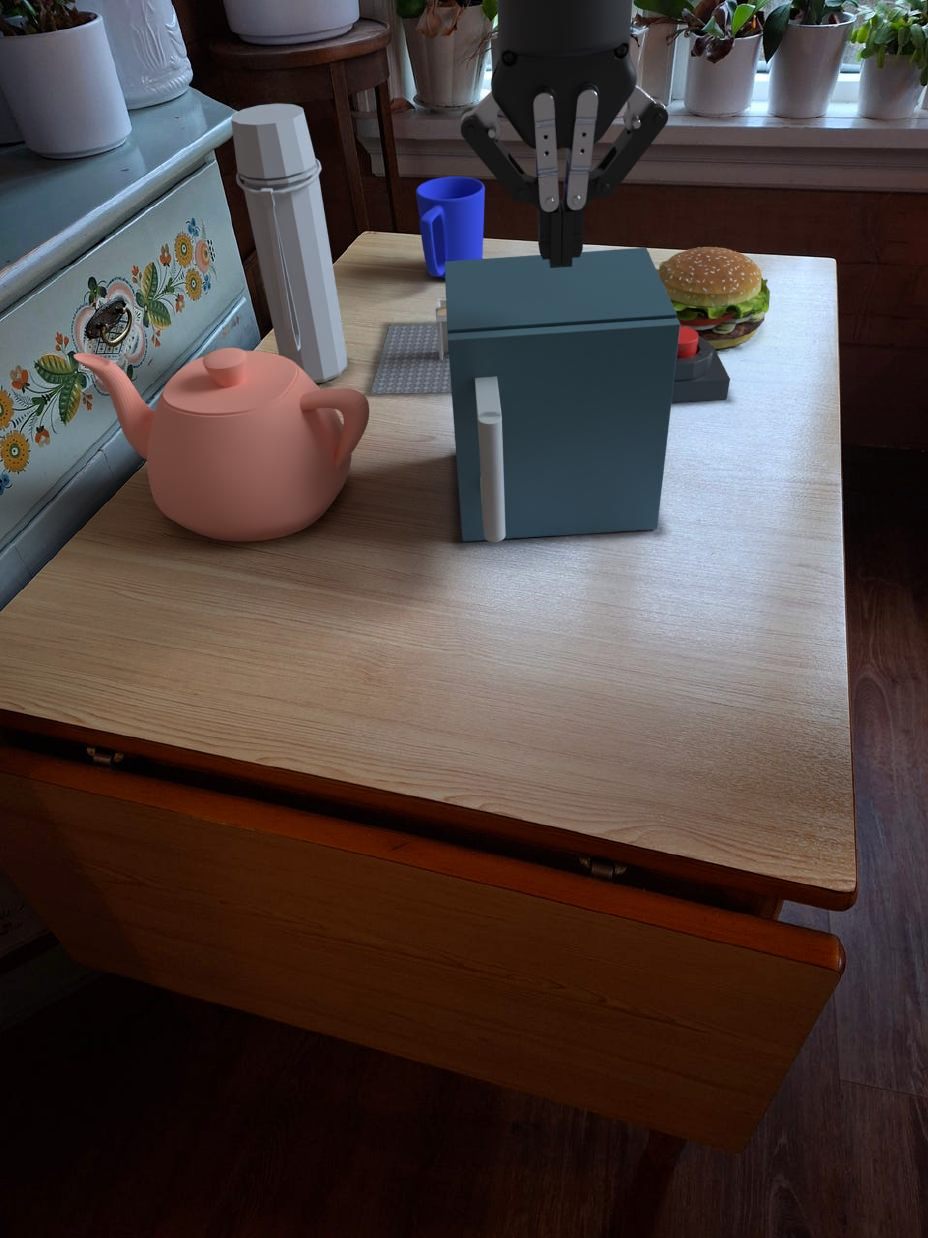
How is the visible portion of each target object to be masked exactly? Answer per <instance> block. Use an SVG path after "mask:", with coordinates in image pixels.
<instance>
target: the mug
mask: <svg viewBox="0 0 928 1238" xmlns="http://www.w3.org/2000/svg"><path fill="white" fill-rule="evenodd" d="M485 187H486V186H485V184H484V183H483V182H482V181H480V180H479V179H476V178H473V177H467V176H445V177H439V178H434V179H430V180H427V181H425V182H423V183H421V184H419V186H417V188H416V189H415V196H416V203H417V209H418V214H419V229H420V230H419V231H420V236H421V244H422V250H423V256H424V261H425V265H426V269H427V272H428V273H429V275H430V276H433V277H438V278H441V279H445V261H459V260H474V259H483V254H484V253H483V252H484V251H483V250H484V223H485V222H484V221H485V193H486V192H485V190H486V188H485Z"/></svg>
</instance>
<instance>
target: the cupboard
mask: <svg viewBox="0 0 928 1238" xmlns="http://www.w3.org/2000/svg"><path fill="white" fill-rule="evenodd" d="M656 269H657V268H656V265H655V263H654V261H653V260H652V257H651V254H650V253H649V250H648V248H647V247H636V248H635V247H634V248H633V247H632V248H621V249H620V248H619V249H604V250H593V251H582V252H581V255H580V257H577V258H572V267H561V268H550V264H549V259H544V260H543V259H542V257H541V254H534V255H533V254H532V255H518V256H504V257H490V258H482V259H474V260H459V261H445V278H444V282H445V283H444V284H445V299H446V310H447V333H448V334H452V333H467V332H482V331H496V330H511V329H526V328H541V327H555V326H570V325H585V324H599V323H614V322H629V321H643V320H658V319H673V318H677V314H676V311H675V309H674V307H673V305H672V303H671V301H670V298H669V296H668V294H667V292H666V290H665V287H664V285H663V283H662V281H661V279H660V277H659V274H658V272H657V270H656Z"/></svg>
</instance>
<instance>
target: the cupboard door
mask: <svg viewBox="0 0 928 1238" xmlns="http://www.w3.org/2000/svg"><path fill="white" fill-rule="evenodd" d="M679 332H680V323H679V321H678V318H673V319H658V320H643V321H629V322H614V323H599V324H585V325H570V326H555V327H541V328H526V329H511V330H496V331H482V332H467V333H452V334H448V350H449V364H450V378H451V391H452V392H451V403H452V404H451V405H452V415H453V416H452V418H453V432H454V444H455V457H456V458H455V459H456V471H457V485H458V497H459V511H460V525H461V526H460V527H461V539H462V542H474V541H487V542H490V543H498V542H501V541H503V540H505V539H507V540H508V539H521V538H535V537H536V538H537V537H551V536H568V535H583V534H584V535H585V534H598V533H600V534H601V533H613V532H630V531H647V530H657V529H658V526H659V525H658V524H659V516H660V510H661V509H660V507H661V499H662V491H663V483H664V482H663V481H664V473H665V464H666V463H665V462H666V456H667V455H666V454H667V448H668V447H667V446H668V438H669V430H670V429H669V428H670V420H671V411H672V404H673V403H672V394H673V385H674V376H675V368H676V359H677V350H678V341H679Z"/></svg>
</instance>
